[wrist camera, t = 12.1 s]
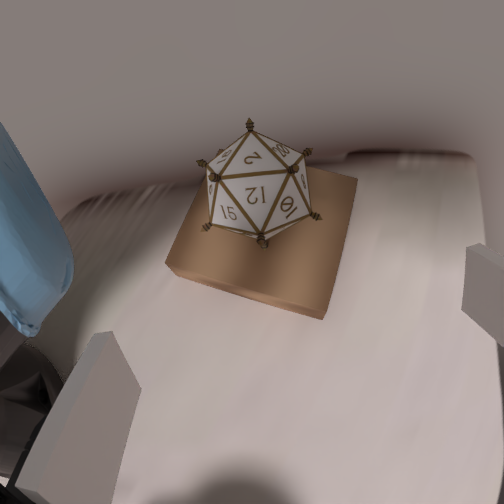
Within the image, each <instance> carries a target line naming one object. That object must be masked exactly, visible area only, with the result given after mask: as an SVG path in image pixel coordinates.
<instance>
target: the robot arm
mask: <svg viewBox="0 0 504 504" xmlns="http://www.w3.org/2000/svg"><path fill="white" fill-rule="evenodd" d="M73 275H74V258H73V254H72V250H71V247H70V244H69V241H68V239H67V237H66V235H65V232H64V230H63V228H62V226H61V224H60V222H59V220H58V219H57V217H56V215H55V213H54V211H53V209H52V207H51V206H50V204H49V202H48V200H47V199H46V197H45V195H44V193H43V192H42V190H41V188H40V186H39V185H38V183H37V181H36V179H35V178H34V176H33V174H32V172H31V171H30V169H29V167H28V166H27V164H26V162H25V161H24V159H23V157H22V155H21V154H20V152H19V150H18V149H17V147H16V145H15V144H14V142H13V141H12V139H11V137H10V136H9V134H8V132H7V131H6V130H5V128H4V126H3V125H2V123H1V122H0V476H2V477H5V478H9V481H8V484H7V485H6V487H4V486H3V485H2V484H1V483H0V504H111V503H112V498H113V494H114V490H115V486H116V481H117V477H118V473H119V469H120V465H121V461H122V457H123V453H124V450H125V446H126V442H127V438H128V435H129V431H130V427H131V424H132V420H133V417H134V413H135V410H136V406H137V403H138V399H139V396H140V392H141V387H140V385H139V383H138V382H137V380H136V378H135V376H134V374H133V372H132V370H131V368H130V367H129V365H128V363H127V361H126V359H125V357H124V355H123V353H122V351H121V349H120V347H119V345H118V343H117V340H116V338H115V336H114V334H113V332H112V331H109V332H103V333H97V334H94V335H93V337H92V338H91V340H90V342H89V343H88V345H87V347H86V348H85V350H84V352H83V353H82V355H81V357H80V359H79V360H78V362H77V364H76V365H75V367H74V369H73V371H72V372H71V374H70V376H69V378H68V379H67V381H66V383H65V385H64V386H63V384H62V382H61V380H60V377H59V376H58V374H57V372H56V370H55V369H54V367H53V366H52V364H51V363H50V362H49V360H48V359H47V358H46V357H45V356H44V355H43V354H42V353H40V352H39V351H38V350H36V349H35V348H33V347H31V346H29V345H25V344H23V343H24V342H25V341H26V340H27V339H28V337H34V336H36V335H37V334H38V332H39V331H40V328H41V324H42V321H43V320H44V319H45V318H46V316H47V315H48V314H49V313H50V312H51V310H52V309H53V308H54V307H55V305H56V304H57V303H58V302H59V301H60V300H61V298H62V297H63V296H64V295H65V294H66V292H67V291H68V289H69V287H70V285H71V283H72V280H73ZM461 310H462V311H463V312H465V313H466V314H467V315H468V316H469V317H470V318H471V319H473V320H474V321H475V322H476V323H477V324H478V325H479V326H480V327H482V328H483V329H484V330H485V331H486V332H487V333H488V334H489V335H490V336H492V337H493V338H494V339H495V340H496V341H497V342H498V343H499V344H500V345H501V346H502V347H503V348H504V256H503V255H501V254H499V253H498V252H496V251H494V250H492V249H490V248H488V247H486V246H484V245H482V244H481V243H479V244H475V245H472V246H469V247H466V265H465V279H464V291H463V300H462V309H461Z"/></svg>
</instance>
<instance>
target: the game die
mask: <svg viewBox="0 0 504 504" xmlns="http://www.w3.org/2000/svg"><path fill="white" fill-rule="evenodd" d="M253 124H254V123H253V122H252V121H251V119H250V118H249V119H248V121H247V123H246V126H247V127H246V128H247V129H248V132H247V133H245V134H244V135H243V136H241V137H240V138H239V139H238V140H236V141H235V142H234V143H232V144H231V145H230V146H229V147H227V148H226V149H225V150H224V151H222V152H221V153H220V154H219V155H217V156H216V157H215V158H214V159H212V160H211V161H210V162H209V163H206V161H203V159H202V160H198V161H196V162H197V163H198V165H199V166H202V167H206V181H207V197H208V211H209V223H205V225H202V229H201V231H200V232H205V231H207V232H208V230H210V228H211V226H215V227H218V228H221V229H224V230H228V231H231V232H234V233H237V234H240V235H244V236H247V237H250V238H253V239H256V240H257V243H258V244H260V245H261V248H262V249H264V251H265V250H266V248H267V247H268V245H267V244H268V242H266V240H268V239H270V238H271V237H273V236H275V235H277V234H279V233H280V232H282V231H284V230H286V229H288V228H289V227H291V226H293V225H295V224H297V223H298V222H300V221H302V220H304V219H306V218H307V217H309V216H311V217H312V218H313V219H315V220H316V221H317V220H323V219H322V218H321V216H320V214H317V212H316V213H314V212H312V208H311V200H310V192H309V184H308V176H307V169H306V162H305V156H309V154H311V152H312V149H313V148H306V150H304V151H303V153H300V152H298V151H296V150H294V149H292V148H290V147H288V146H286V145H283V144H281V143H279V142H277V141H275V140H272V139H270V138H268V137H266V136H264V135H262V134H259V133H257V132H255V131H253V127H254V126H253Z"/></svg>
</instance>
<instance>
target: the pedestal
mask: <svg viewBox="0 0 504 504" xmlns="http://www.w3.org/2000/svg"><path fill="white" fill-rule="evenodd" d="M222 151H224V150H222V149H219V151H218V153H217V155H219V154H220V153H221V152H222ZM217 155H216V156H217ZM306 169H307V176H308V184H309V192H310V200H311V208H312V212H314V213H316V212H317V214H320V216H321V218H322V219H323V220H317V221H316V220H315V219H313V218H312V217H311V216H309V217H307V218H306V219H304V220H302V221H300V222H298V223H297V224H295V225H293V226H291V227H289V228H288V229H286V230H284V231H282V232H280V233H279V234H277V235H275V236H273V237H271V238H270V239H268V240H266V242H268V244H267V245H268V247H267V248H266V250H265V251H264V249H262V248H261V245H260V244H258V243H257V240H256V239H253V238H250V237H247V236H244V235H240V234H237V233H234V232H231V231H228V230H224V229H221V228H218V227H215V226H211V228H210V230H208V232H207V231H205V232H200V231H201V229H202V225H205V223H209V211H208V197H207V181H206V176H205V178H204V180H203V182H202V184H201V186H200V188H199V190H198V192H197V194H196V197H195V199H194V201H193V203H192V205H191V207H190V209H189V211H188V213H187V215H186V217H185V219H184V222H183V224H182V226H181V228H180V230H179V232H178V234H177V237H176V239H175V241H174V243H173V245H172V248H171V250H170V252H169V254H168V256H167V259H166V261H165V264H166V265H167V266H168V267H169V268H170V269H171V270H172V271H173V272H174V273H175V275H177V276H180V277H183V278H186V279H189V280H192V281H195V282H198V283H201V284H204V285H207V286H210V287H213V288H216V289H220V290H223V291H226V292H229V293H232V294H236V295H239V296H242V297H245V298H248V299H252V300H255V301H258V302H262V303H265V304H268V305H272V306H275V307H278V308H282V309H285V310H289V311H292V312H296V313H299V314H303V315H306V316H310V317H313V318H317V319H320V320H323V318H324V316H325V314H326V312H327V309H328V305H329V301H330V298H331V294H332V290H333V287H334V283H335V279H336V275H337V271H338V267H339V263H340V259H341V255H342V251H343V246H344V242H345V238H346V234H347V229H348V225H349V220H350V215H351V211H352V206H353V201H354V196H355V191H356V186H357V181H358V179H357V178H353V177H349V176H345V175H341V174H337V173H333V172H329V171H325V170H321V169H317V168H312V167H308V166H306Z"/></svg>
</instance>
